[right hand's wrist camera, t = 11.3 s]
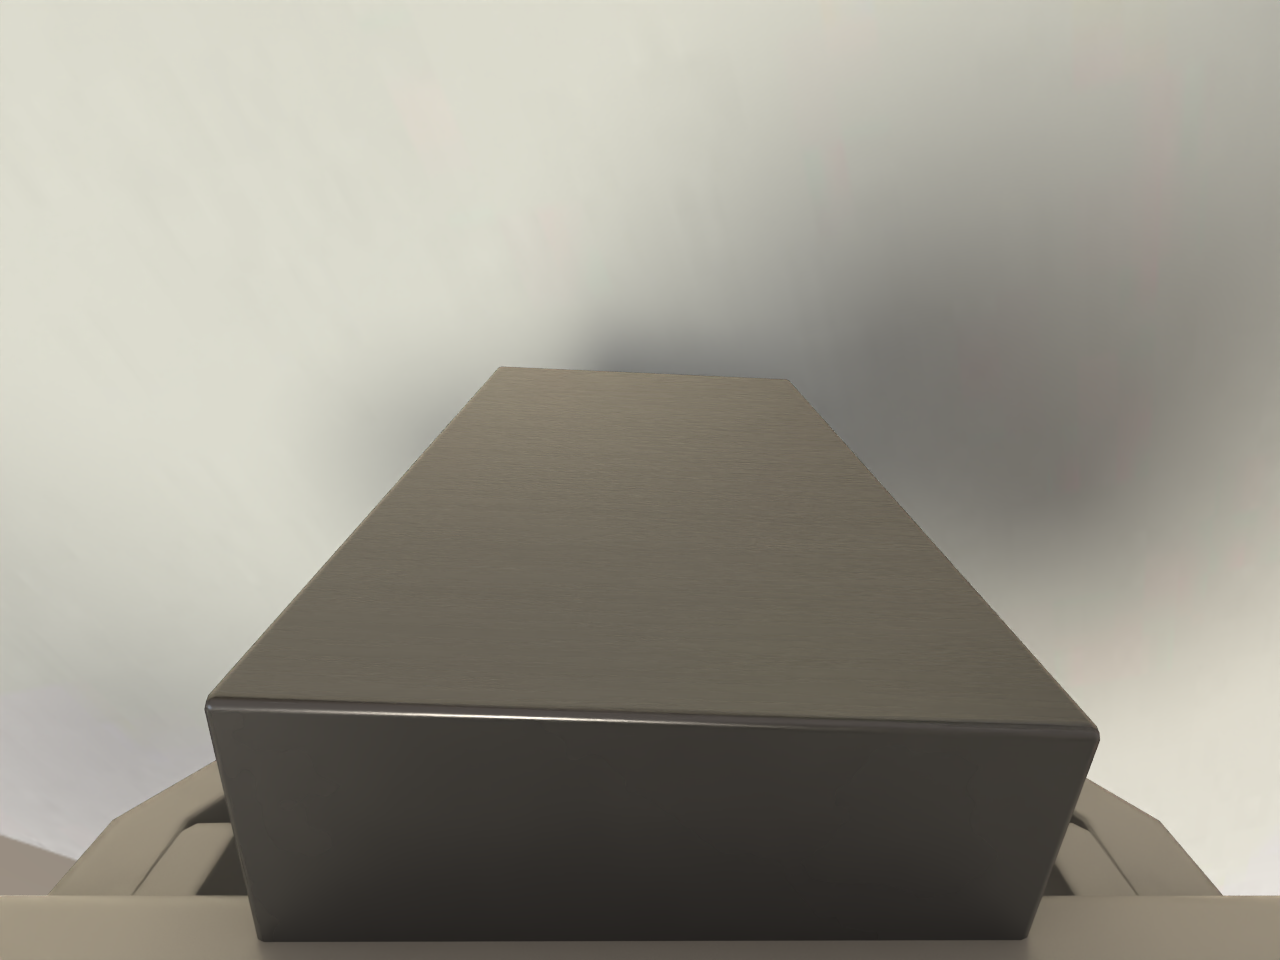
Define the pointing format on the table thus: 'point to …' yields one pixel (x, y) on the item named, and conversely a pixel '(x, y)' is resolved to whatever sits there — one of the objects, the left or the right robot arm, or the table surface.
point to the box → (643, 694)
